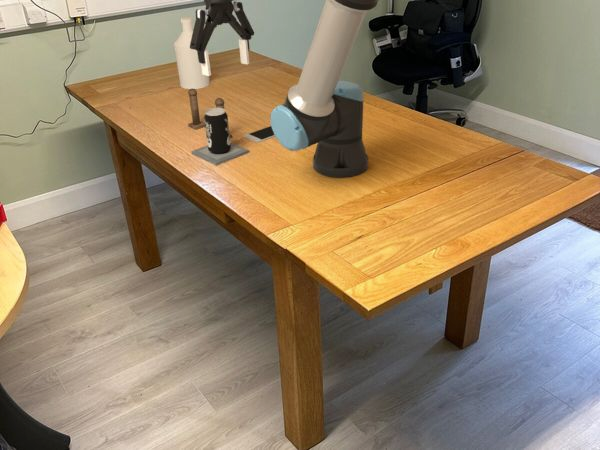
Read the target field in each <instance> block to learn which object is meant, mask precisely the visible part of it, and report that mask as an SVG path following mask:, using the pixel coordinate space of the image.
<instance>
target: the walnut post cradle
mask: <svg viewBox="0 0 600 450" xmlns="http://www.w3.org/2000/svg"><path fill="white" fill-rule="evenodd" d="M187 93H188V94H187V95H188V96H189V105H190V111H191V112H190V113H191V119H192V120H191V121H192V122H190V123H188V124H187V125H188V126H187V127H188V128H190V129H193V130H198V129H201V128H205V122H203V121H201V118H200V108H199V102H198V91H197V89H193V88H192V89H188V92H187ZM214 105H215V108H223V109H225V100H224V98H221V97H217V98H215V101H214ZM229 134H230V139H232V138H233V133H230V132H229Z"/></svg>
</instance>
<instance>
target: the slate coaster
mask: <svg viewBox="0 0 600 450" xmlns="http://www.w3.org/2000/svg"><path fill="white" fill-rule="evenodd" d="M230 144H231V148H230V150H229V151H228V152H227V153H224V154H213V153H211V152H210V151H209V150H208V144H207V145H205V146H203V147H200V148H197V149H194V150H191V152H190V153H191V155H193V156H195V157H197V158H200V159H201V160H204V161H206V162H208V163H210V164H212V165H215V166H218V165H222V164H223V163H224V164H225V163H226V162H229V161H231V160H234V159H237V158H239V157H241V156H244V155H247V154H249V153H250V150H249V149H248V148H246V147H243V146H241V145H239V144H235V143H233V142H231V141H230Z"/></svg>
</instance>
